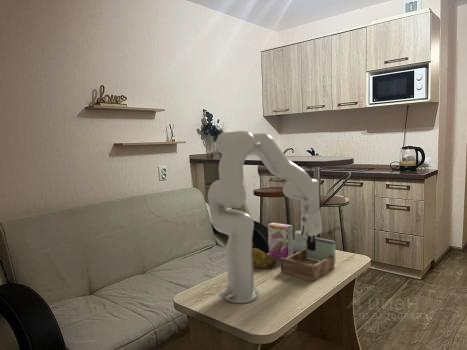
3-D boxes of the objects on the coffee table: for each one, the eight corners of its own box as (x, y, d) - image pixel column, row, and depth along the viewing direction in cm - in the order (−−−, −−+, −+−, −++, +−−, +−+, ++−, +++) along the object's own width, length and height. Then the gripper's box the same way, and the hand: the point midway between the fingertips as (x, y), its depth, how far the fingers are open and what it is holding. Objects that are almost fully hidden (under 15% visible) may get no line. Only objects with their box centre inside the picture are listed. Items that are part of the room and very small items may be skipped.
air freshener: (301, 256, 165) (300, 235, 164) (287, 252, 171) (287, 233, 170) (314, 250, 172) (313, 230, 171) (300, 247, 178) (300, 228, 177)
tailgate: (334, 264, 148) (333, 241, 147) (305, 257, 159) (304, 236, 158) (335, 263, 149) (335, 241, 148) (306, 256, 159) (306, 235, 158)
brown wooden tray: (311, 281, 135) (311, 265, 135) (280, 272, 146) (280, 257, 145) (334, 268, 148) (334, 253, 147) (304, 260, 159) (304, 247, 158)
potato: (267, 272, 147) (266, 254, 146) (243, 266, 155) (242, 249, 154) (277, 266, 153) (276, 249, 152) (254, 261, 161) (253, 244, 161)
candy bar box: (268, 257, 165) (266, 224, 163) (274, 254, 169) (272, 222, 167) (288, 262, 158) (287, 227, 156) (294, 259, 162) (292, 224, 160)
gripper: (308, 212, 139) (309, 256, 141) (327, 205, 149) (328, 247, 151) (292, 210, 144) (294, 252, 146) (312, 204, 154) (313, 244, 156)
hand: (311, 249), depth 148 cm, fingers closed
